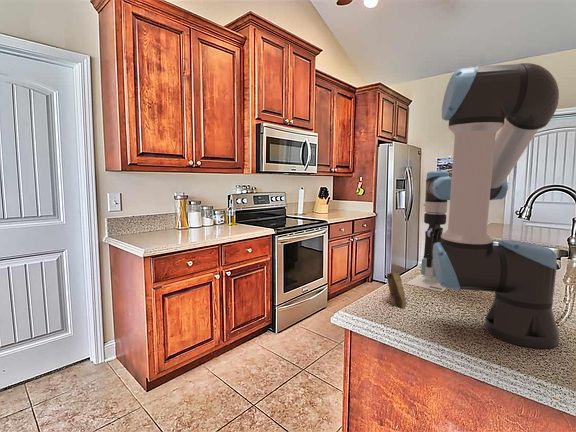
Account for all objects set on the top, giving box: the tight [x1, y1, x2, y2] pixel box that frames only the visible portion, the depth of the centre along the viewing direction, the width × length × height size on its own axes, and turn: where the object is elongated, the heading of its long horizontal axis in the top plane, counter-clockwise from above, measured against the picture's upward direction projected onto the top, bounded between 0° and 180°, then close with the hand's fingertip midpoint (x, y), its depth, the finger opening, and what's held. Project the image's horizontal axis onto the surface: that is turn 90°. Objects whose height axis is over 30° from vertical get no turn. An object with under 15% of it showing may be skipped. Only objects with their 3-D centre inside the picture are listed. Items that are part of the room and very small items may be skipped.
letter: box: [405, 273, 448, 292], centre depth 123 cm, size 18×13×1 cm
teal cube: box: [420, 257, 436, 277], centre depth 123 cm, size 6×6×6 cm
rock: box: [386, 271, 407, 309], centre depth 103 cm, size 11×9×10 cm
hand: (431, 273), depth 123 cm, fingers closed on teal cube, 6 cm apart
